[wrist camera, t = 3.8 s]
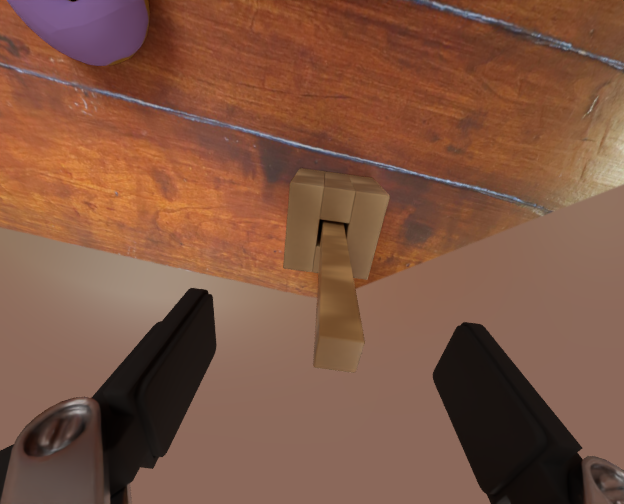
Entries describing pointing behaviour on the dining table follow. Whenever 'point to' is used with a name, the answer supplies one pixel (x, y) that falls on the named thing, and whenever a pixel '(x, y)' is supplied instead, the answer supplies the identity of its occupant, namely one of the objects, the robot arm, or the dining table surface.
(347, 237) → the holder
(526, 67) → the dining table surface
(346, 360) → the stick
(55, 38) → the donut
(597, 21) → the dining table surface
